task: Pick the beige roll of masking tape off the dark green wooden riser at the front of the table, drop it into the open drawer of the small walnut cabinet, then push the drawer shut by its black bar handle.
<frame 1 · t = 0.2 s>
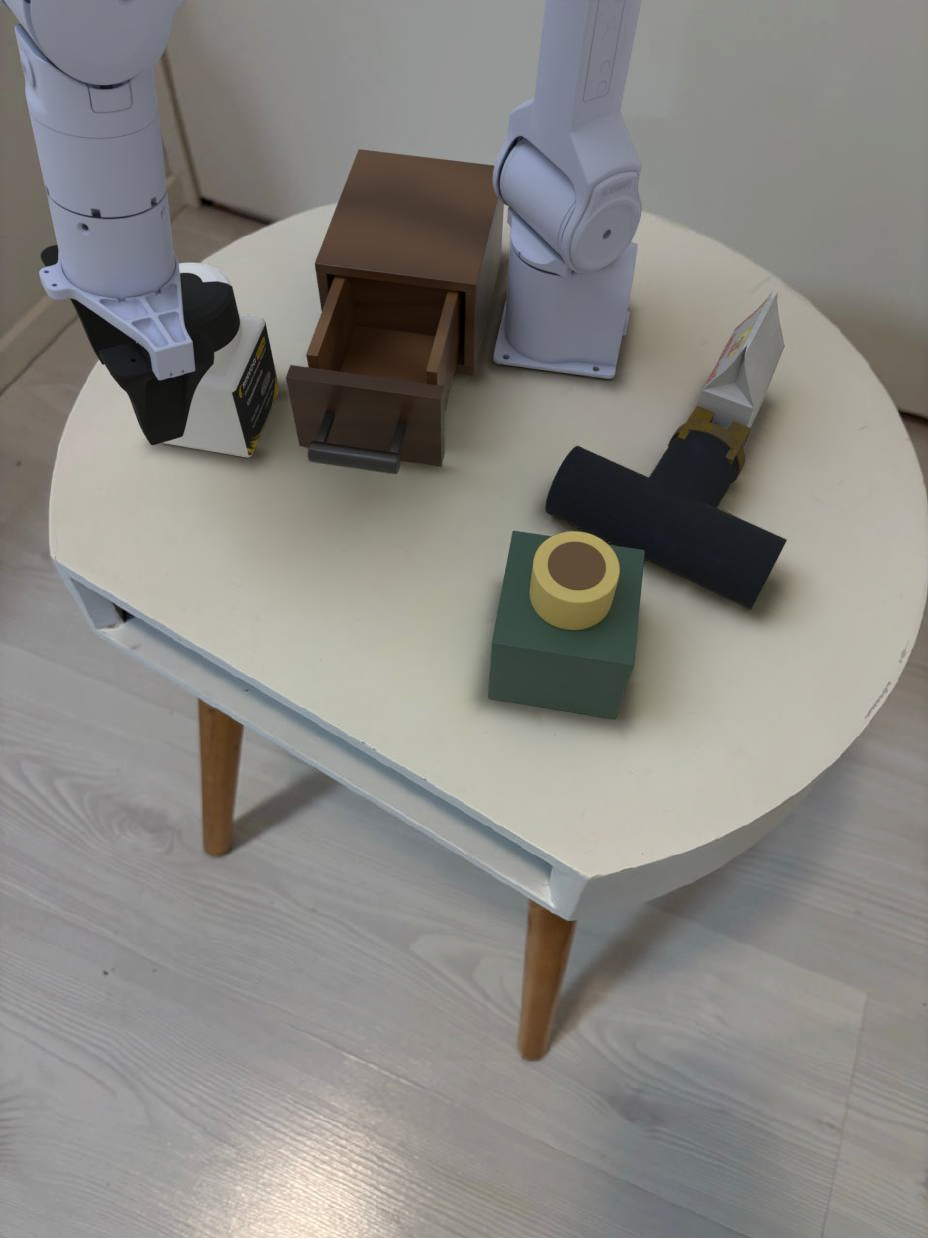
hand: (140, 396, 59), 11 cm above the table, tool pointing down, fingers open, 7 cm apart
tape: (570, 594, 56), point 7 cm above the table, touching riser
drawer: (379, 379, 68), point 4 cm above the table, slide at 9.0 cm
riser: (558, 653, 62), on the table
cabinet: (417, 305, 78), on the table
medicine bottle: (221, 418, 72), on the table
white juice carton: (722, 427, 72), on the table
pipe connector: (675, 517, 68), on the table
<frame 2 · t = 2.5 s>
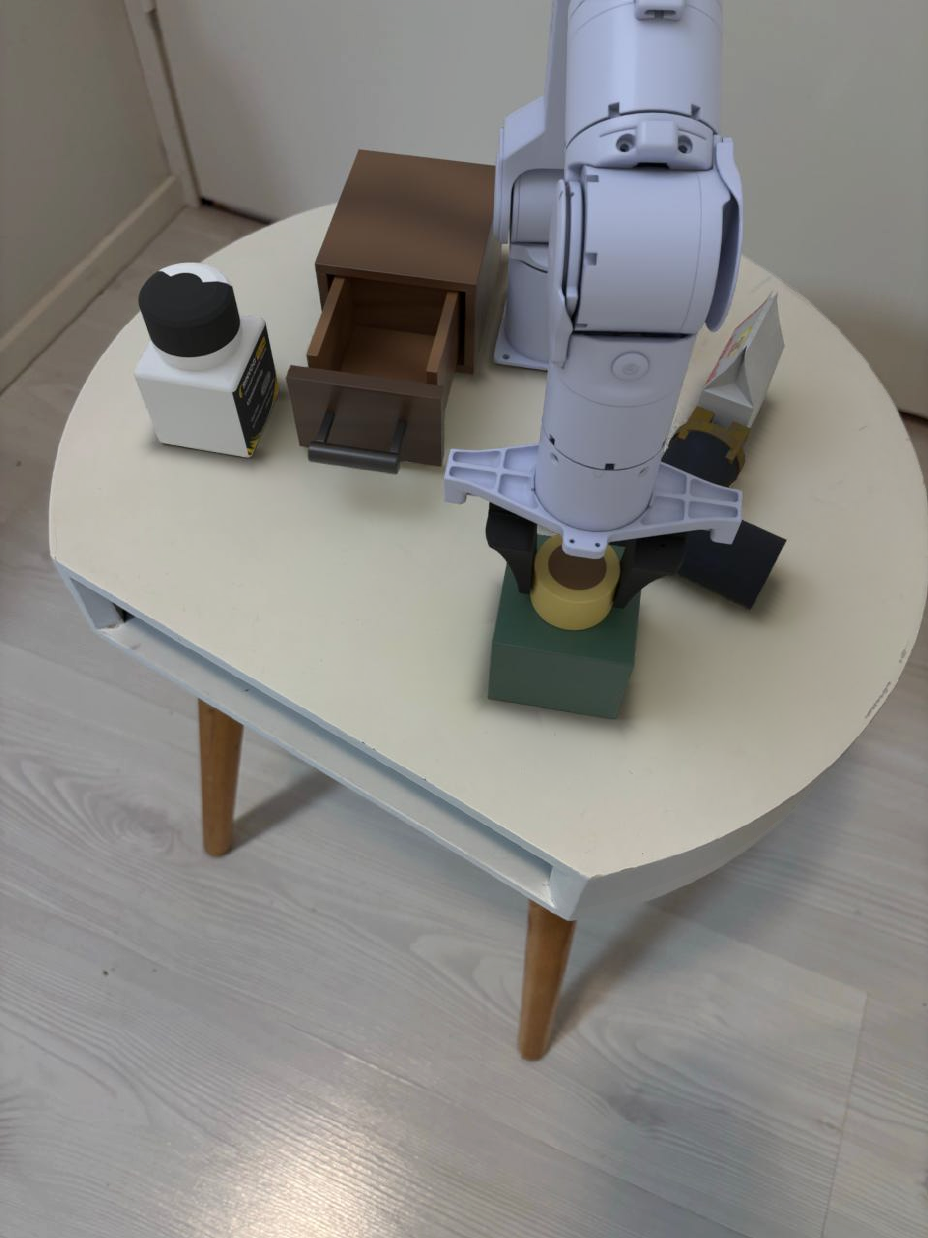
hand: (572, 586, 55), 8 cm above the table, tool pointing down, fingers closed on tape, 5 cm apart
tape: (571, 595, 56), point 7 cm above the table, touching gripper, riser
everything else where it was.
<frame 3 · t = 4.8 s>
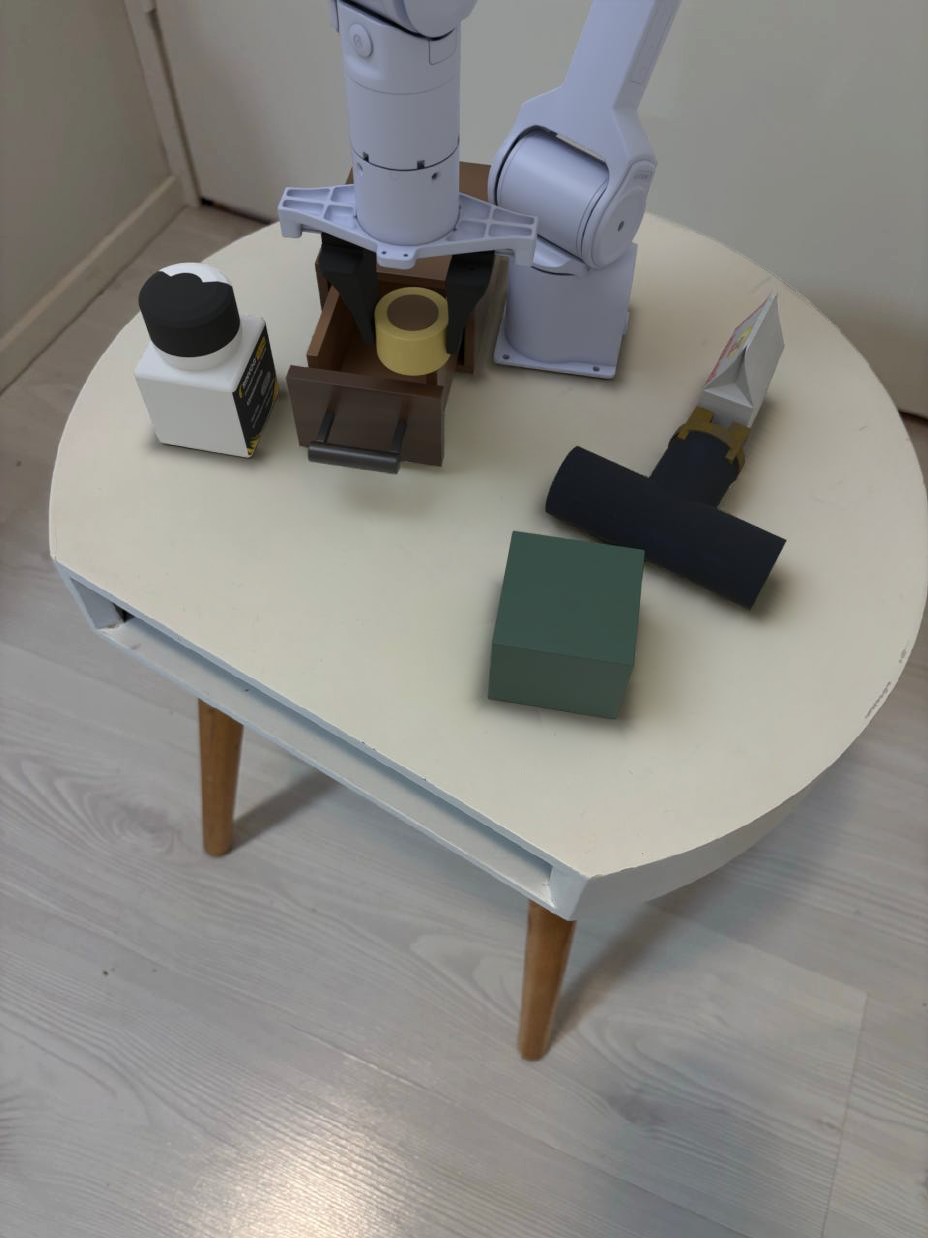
hand: (412, 338, 62), 10 cm above the table, tool pointing down, fingers closed on tape, 5 cm apart
tape: (414, 349, 62), point 9 cm above the table, touching gripper
everything else where it was.
when the fingers open (7 cm above the table, at t = 7.3 s): tape stays where it is, resting on drawer.
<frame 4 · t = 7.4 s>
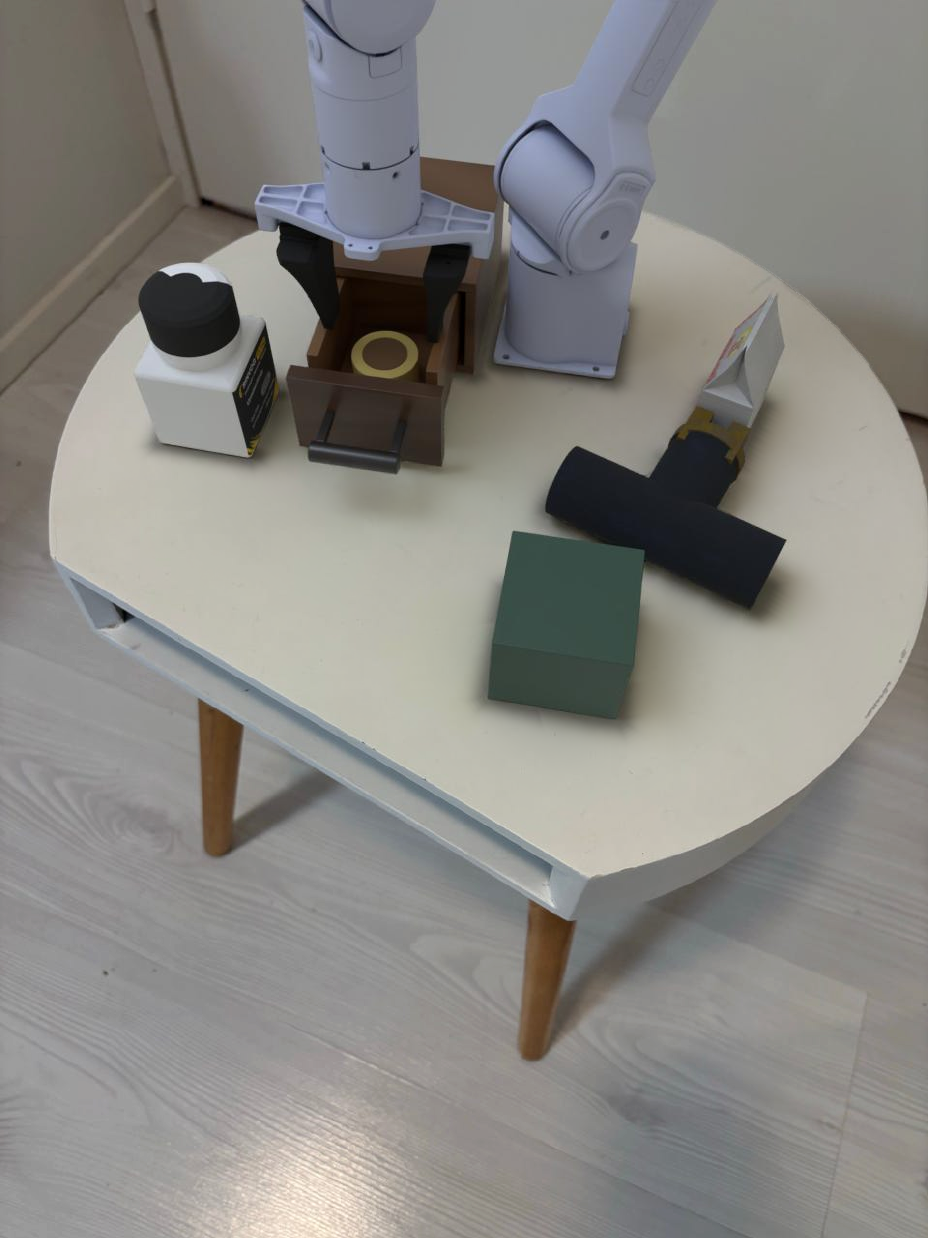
hand: (383, 325, 66), 8 cm above the table, tool pointing down, fingers open, 7 cm apart
tape: (387, 384, 71), point 2 cm above the table, touching drawer
drawer: (379, 379, 68), point 4 cm above the table, slide at 9.0 cm, touching tape
everything else where it was.
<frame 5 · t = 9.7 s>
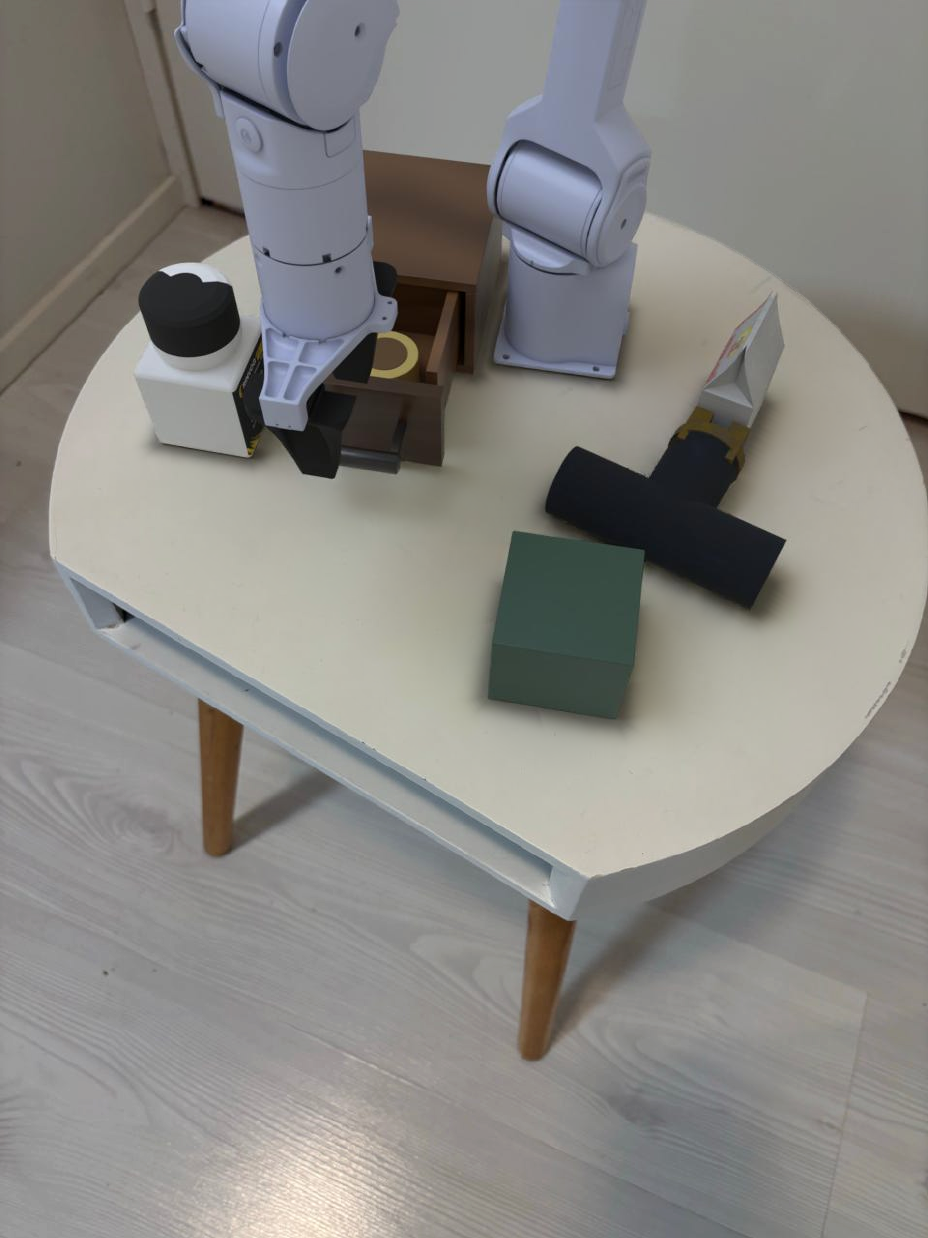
hand: (336, 423, 58), 10 cm above the table, tool pointing down, fingers open, 7 cm apart
nothing on the table moved.
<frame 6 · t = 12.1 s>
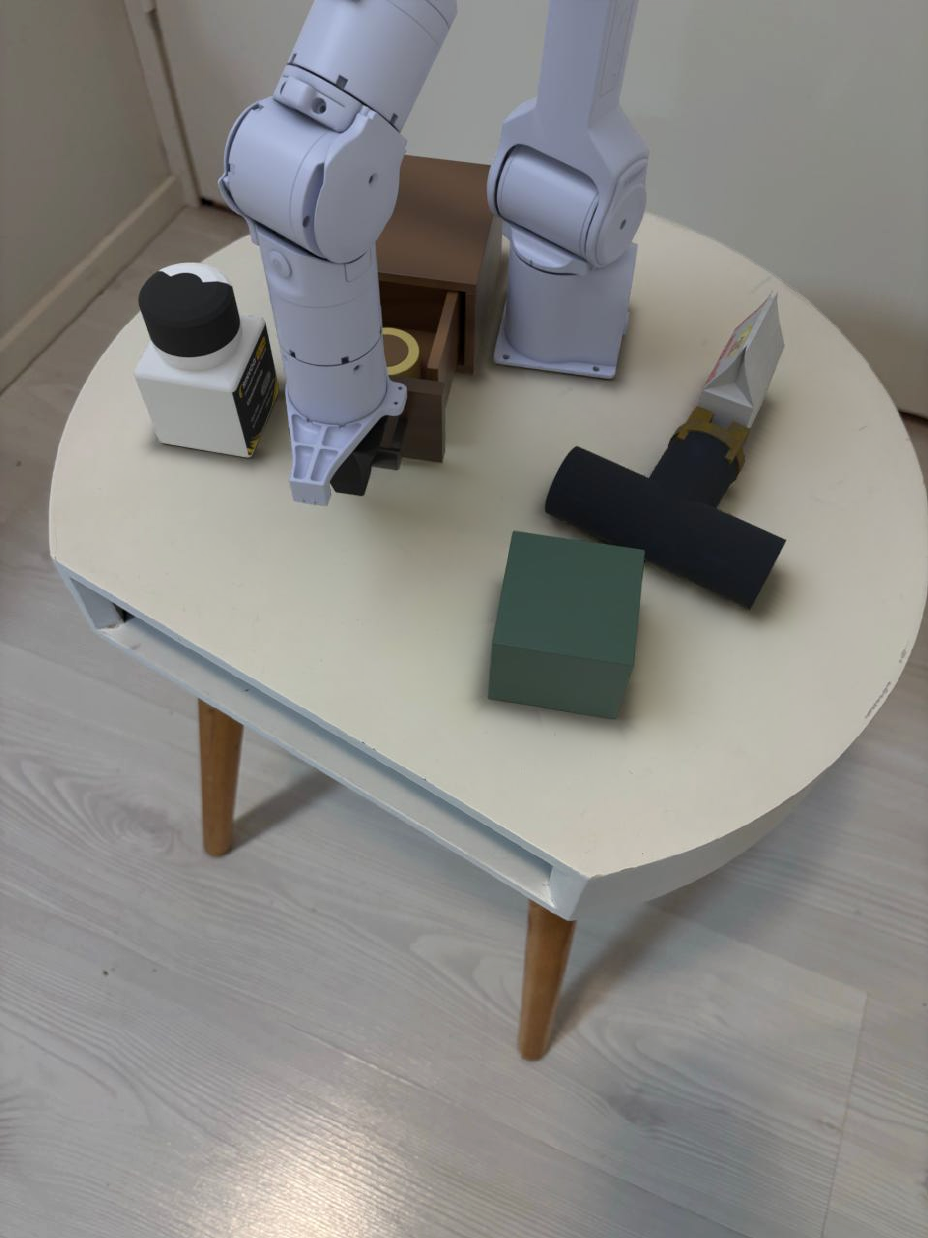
hand: (351, 486, 64), 3 cm above the table, tool pointing down, fingers closed
drawer: (380, 376, 68), point 4 cm above the table, slide at 8.7 cm, touching gripper, tape
everything else where it was.
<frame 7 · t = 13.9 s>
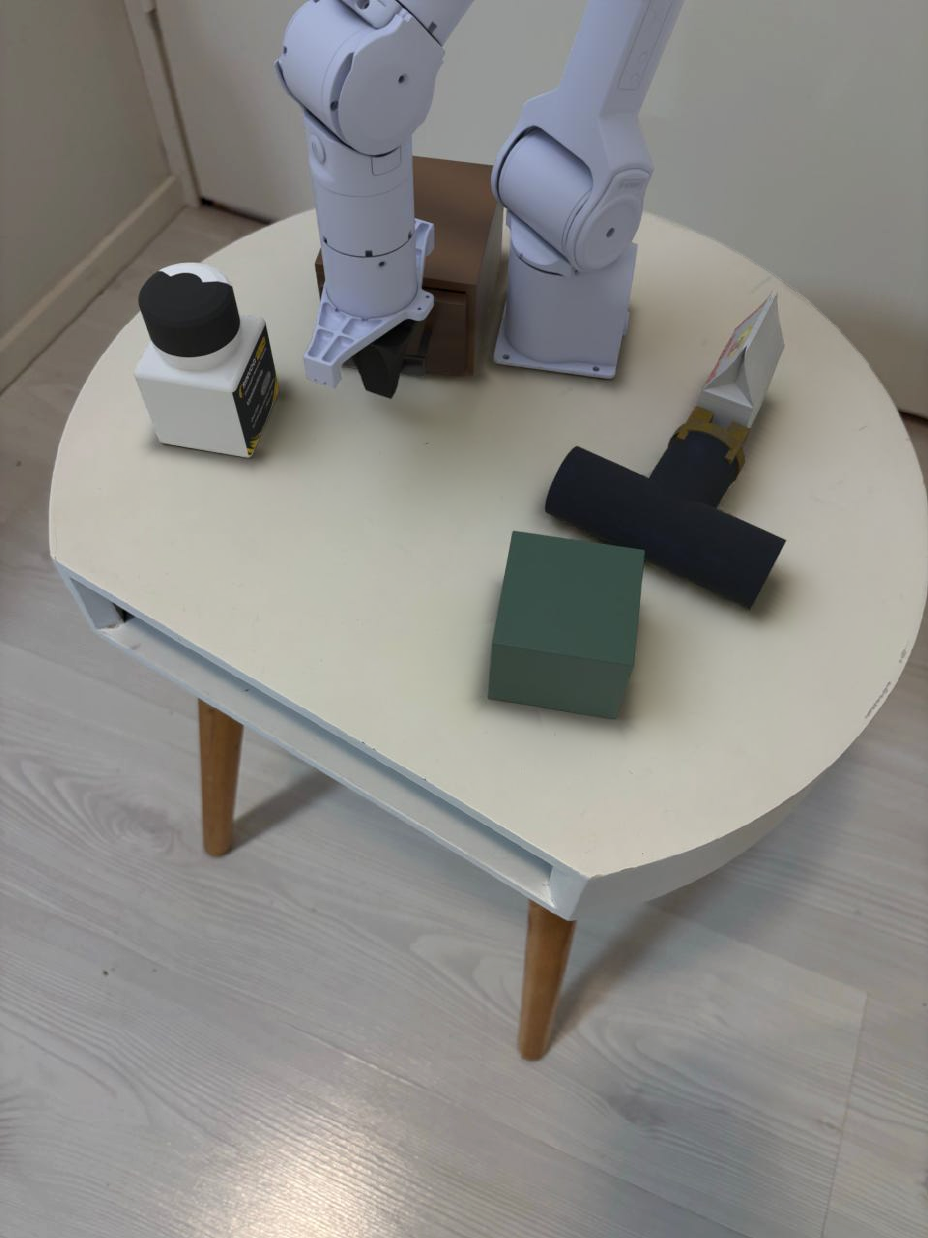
hand: (380, 391, 69), 3 cm above the table, tool pointing down, fingers closed, pressing on drawer
tape: (411, 301, 76), point 2 cm above the table, touching drawer
drawer: (405, 294, 73), point 4 cm above the table, slide at 0.0 cm, touching cabinet, gripper, tape
everything else where it was.
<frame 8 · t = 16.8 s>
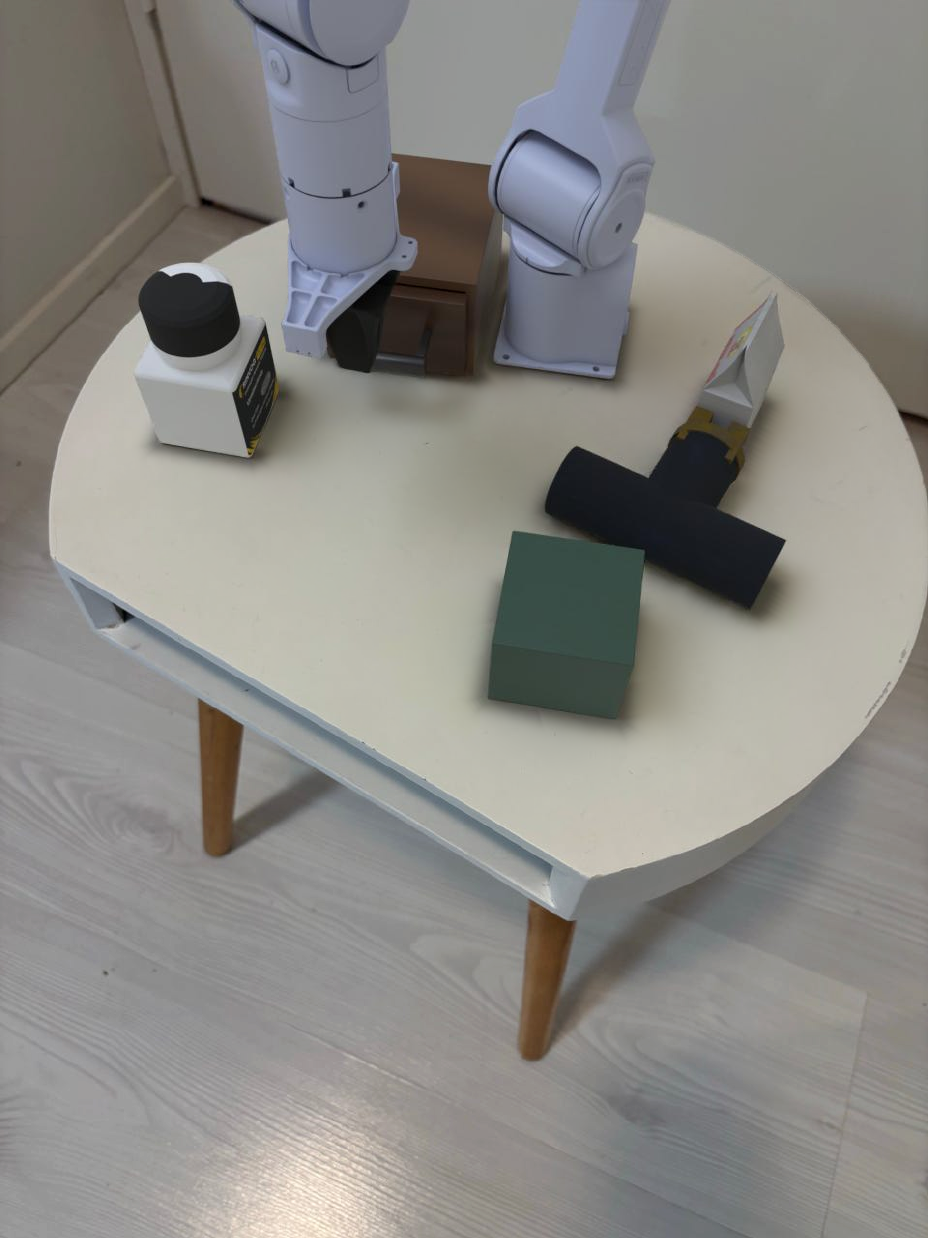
hand: (357, 362, 61), 10 cm above the table, tool pointing down, fingers closed
drawer: (405, 294, 73), point 4 cm above the table, slide at 0.0 cm, touching cabinet, tape
everything else where it was.
at the end: tape inside the target area in the cabinet (1.9 cm from its centre), point 2.0 cm above the cabinet's base; drawer slide at 0.0 cm; the gripper is holding nothing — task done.
